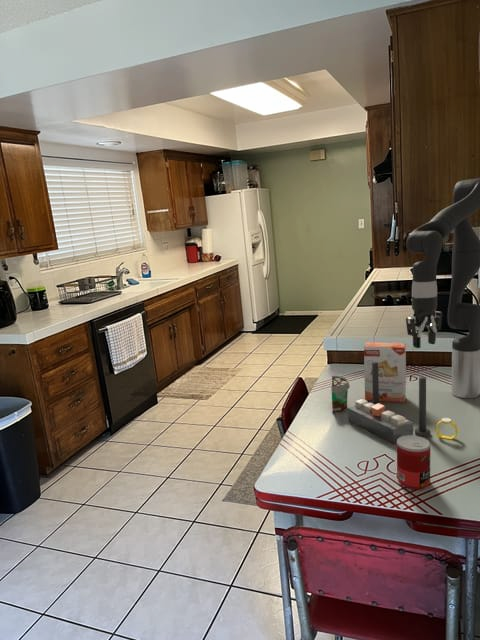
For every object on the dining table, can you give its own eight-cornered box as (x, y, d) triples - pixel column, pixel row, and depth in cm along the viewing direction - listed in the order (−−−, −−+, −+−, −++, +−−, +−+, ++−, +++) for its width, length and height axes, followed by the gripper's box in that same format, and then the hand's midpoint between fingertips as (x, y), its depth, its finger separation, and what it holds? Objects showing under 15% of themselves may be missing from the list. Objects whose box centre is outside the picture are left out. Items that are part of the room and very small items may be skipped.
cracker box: (364, 401, 175) (363, 345, 170) (366, 395, 180) (365, 341, 176) (405, 403, 170) (404, 346, 165) (406, 397, 175) (405, 342, 171)
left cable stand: (376, 409, 167) (375, 360, 163) (385, 413, 163) (384, 362, 159) (366, 412, 165) (365, 362, 161) (375, 416, 161) (374, 365, 157)
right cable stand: (422, 429, 149) (421, 374, 146) (433, 434, 146) (433, 378, 142) (411, 433, 147) (411, 377, 144) (423, 438, 144) (423, 381, 140)
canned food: (426, 493, 117) (426, 451, 114) (393, 485, 121) (392, 445, 119) (433, 477, 123) (433, 438, 121) (401, 471, 127) (400, 432, 125)
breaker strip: (367, 416, 162) (366, 396, 161) (413, 437, 145) (412, 416, 143) (348, 422, 159) (347, 402, 157) (393, 445, 141) (393, 423, 140)
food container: (350, 414, 164) (349, 387, 162) (332, 414, 166) (331, 387, 164) (350, 400, 176) (349, 375, 174) (333, 400, 178) (331, 375, 175)
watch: (435, 439, 143) (434, 420, 142) (437, 435, 146) (435, 417, 145) (457, 441, 140) (456, 422, 139) (458, 437, 142) (457, 418, 141)
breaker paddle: (379, 409, 152) (378, 403, 152) (385, 412, 150) (384, 405, 149) (372, 413, 151) (371, 407, 151) (378, 416, 149) (377, 409, 148)
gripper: (431, 290, 158) (430, 339, 162) (398, 296, 152) (399, 347, 156) (450, 292, 152) (449, 343, 155) (417, 299, 146) (417, 352, 149)
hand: (424, 345), depth 156 cm, fingers open, 6 cm apart
